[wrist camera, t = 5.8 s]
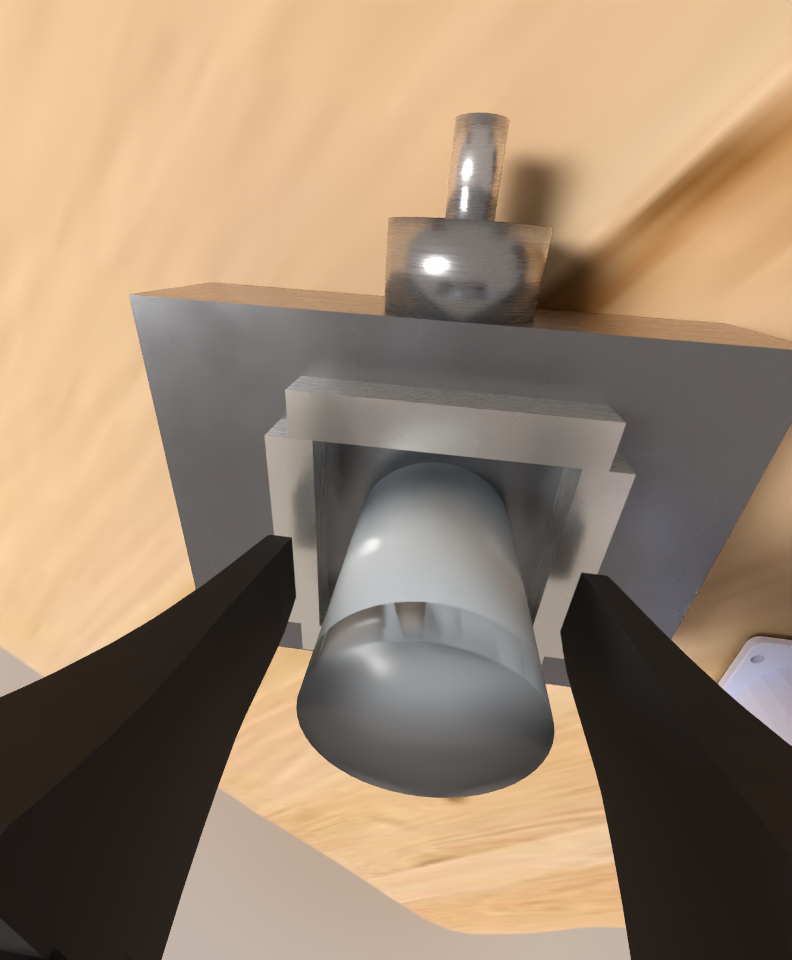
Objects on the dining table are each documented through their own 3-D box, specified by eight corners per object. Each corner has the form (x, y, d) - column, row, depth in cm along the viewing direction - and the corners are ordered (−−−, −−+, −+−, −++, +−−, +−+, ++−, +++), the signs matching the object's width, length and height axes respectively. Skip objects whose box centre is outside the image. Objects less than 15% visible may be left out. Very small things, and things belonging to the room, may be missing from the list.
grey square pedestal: (603, 612, 18) (653, 730, 14) (249, 566, 20) (189, 663, 15) (795, 157, 11) (1050, 90, 6) (188, 124, 12) (24, 48, 7)
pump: (490, 595, 13) (515, 815, 8) (355, 572, 14) (296, 773, 8) (527, 475, 11) (593, 670, 6) (366, 450, 12) (296, 618, 6)
